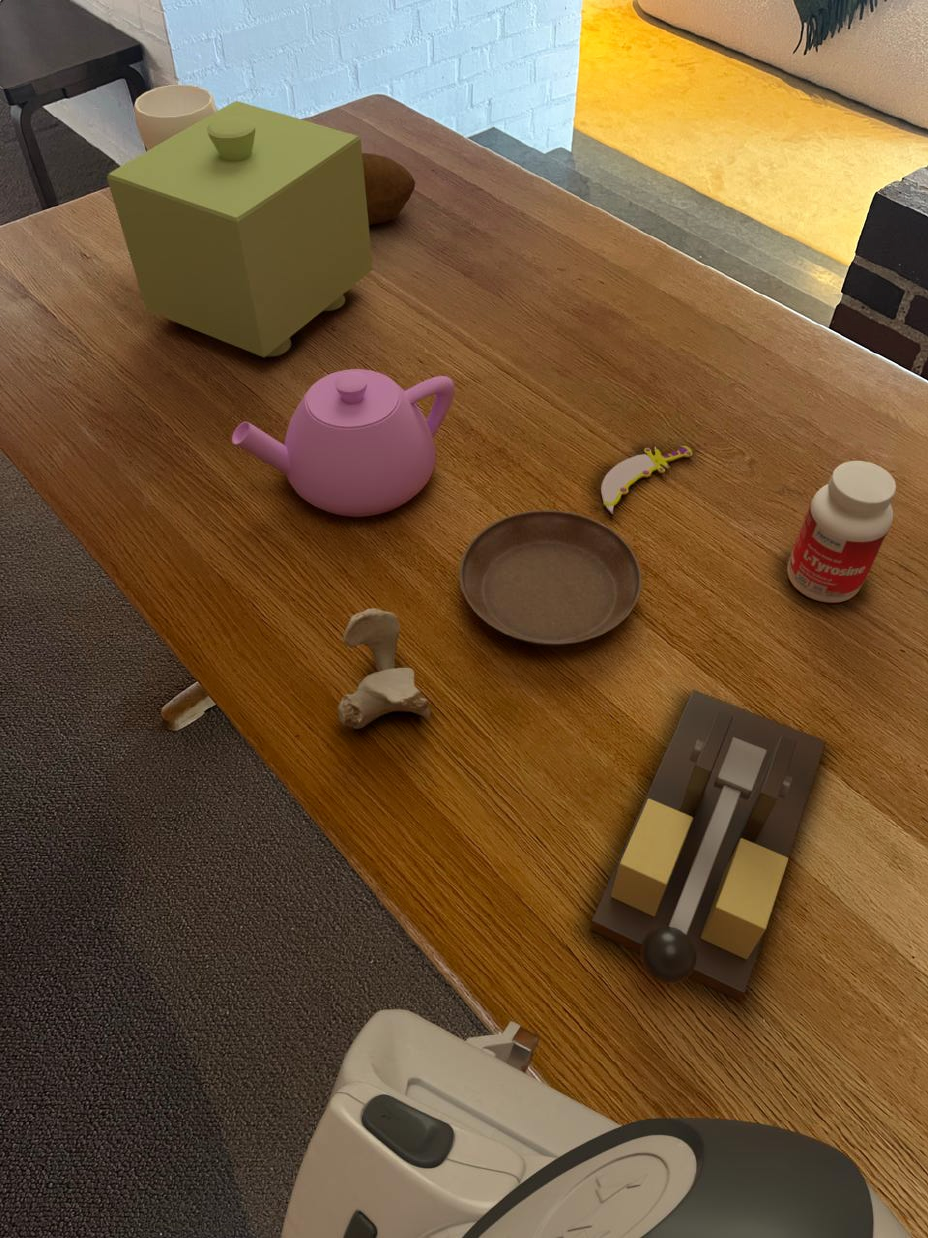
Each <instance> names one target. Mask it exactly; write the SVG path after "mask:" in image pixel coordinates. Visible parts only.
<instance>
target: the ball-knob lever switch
mask: <svg viewBox="0 0 928 1238" xmlns="http://www.w3.org/2000/svg"><path fill="white" fill-rule="evenodd" d="M766 754H767V750H765V749H763V748H760V747H758V746H755V745H753V744H750V743H747V742H745V741H742V740H740V739H737V738H735V737H733V738H732V739H731V742H730V745H729V747H728V750H727V752H726V755H725V757H724V760H723V762H722V765H721V767H720V770H719V773H718V775H717V778H716V780H715V783H714V786H715V787H717V788H720V789H722V790H721V793H720V796H719V798H718V801H717V803H716V806H715V808H714V811H713V814H712V816H711V819H710V821H709V824H708V826H707V829H706V832H705V834H704V837H703V839H702V842H701V844H700V847H699V850H698V852H697V855H696V857H695V860H694V862H693V865H692V867H691V870H690V873H689V875H688V878H687V880H686V883H685V885H684V888H683V891H682V893H681V896H680V898H679V901H678V903H677V906H676V909H675V911H674V914H673V916H672V919H671V921H670V924H669V926H661V927H657V928H655V929H653V930H652V931H650V932H649V933H648V934H647V935H646V936H645V938H644V940H643V942H642V945H641V949H640V953H639V956H640V961H641V964H642V966H643V969H644V970H645V972H646V973H647V974H648V976H650V977H651V978H652V979H653V980H655V981H657V982H658V983H661V984H666V985H676V984H679V983H682V982H684V981H685V980H687V979H688V978H690V977H689V976H690V975H691V973H692V972H693V970H694V968H695V965H696V957H697V956H696V949H695V946H694V944H693V942H692V940H691V939H690V937H689V936H688V935H687V933H688V930H689V928H690V925H691V922H692V920H693V917H694V915H695V912H696V909H697V907H698V904H699V902H700V899H701V896H702V894H703V891H704V889H705V886H706V883H707V881H708V878H709V875H710V873H711V870H712V868H713V865H714V862H715V860H716V857H717V855H718V852H719V849H720V847H721V844H722V841H723V839H724V836H725V834H726V831H727V828H728V826H729V823H730V821H731V818H732V815H733V813H734V810H735V808H736V805H737V802H738V800H739V797H741V798H744V799H748V798H749V796H750V795H751V793H752V791H753V788H754V786H755V783H756V781H757V778H758V775H759V773H760V770H761V767H762V765H763V762H764V759H765V757H766Z"/></svg>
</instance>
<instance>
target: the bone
mask: <svg viewBox="0 0 928 1238" xmlns="http://www.w3.org/2000/svg"><path fill="white" fill-rule="evenodd" d="M401 631H402V629H401V626H400V622H399V620H398V616H397V615H396V614H395V613H393V612H390V611H384V610H382V609H380V608H368V609H365V610H364V611H360V612H357V613H355V614H353V615H352V616H351V617H350V619H349V621H348V624H347V626H346V628H345V629H344V633H343V635H342V640H343V641H342V642H344V644H345V646H346V645H347V647H348V648H351V649H353V648H355V647H358V646H359V645H365V646H367V647H368V649H369V650H370V651H371V654H372V656H373V661H374V664H375V669H376V672H373V673H371V674H369V675H366V676H365V677H364V678H362V680H361V681H360V682H359V684H358V685H357V688H356V690H355V692H353V693H348V694H345V695H344V696H342V699H341V700H340V702H339V704H338V705H337V712H338V719H339V721H340V723H341V724H342V725H343V726H345V727H350V728H353V729H356V730H360V729H363V728H364V727H366V726H367V725H369V724H370V723H372V722H373V721H375V720H377V719H378V718H379V717H381V716H384V715H386V714H389V713H391V712H411V713H414V714H416V715H418V716H422V717H424V718H426V719H430V718H431V717H430V716H431V711H430V709H429V708H428V706H429V701H428V699H427V698H423V697H422V693H421V691H420V690H419V689H418V688H417V687H416V686H415V685H416V684H415V671H414V670H413V669H412V668H410V667H396V654H397V650H398V641H399V637H400V633H401Z"/></svg>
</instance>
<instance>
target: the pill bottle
mask: <svg viewBox="0 0 928 1238" xmlns="http://www.w3.org/2000/svg"><path fill="white" fill-rule="evenodd" d="M896 490H897V483H896V481H895V479H894V477H893V475H892V474H891V473H890V472H888V471H887V470H886V469H885V468H884V467H881V466H880V465H877V464H875V463H872V462H870V461H864V460H850V461H845V462H842V463H841V464H839V465H838V466H836V467H835V469H834V470H833V472H832V474H831V476H830V478H829V480H828V483H827V484H825V485H824V486H821V488H819V489H818V490H817V491H816V493H815V494H814V495H813V497H812V500H811V501H810V504H809V507H808V508H807V509H808V510H807V512H806V515H805V517H804V520H803V523H802V525H801V527H800V530H799V533H798V536H797V538H796V540H795V544H794V546H793V548H792V551H791V554H790V556H789V558H788V561H787V568H786V570H787V576H788V580H789V581H790V583H791V584H792V586H793V587H794V588H795V589H796V590H797V591H798V592H800V593H801V594H803V596H805V597H807V598H810V599H812V600H815V601H818V602H822V603H831V604H833V603H834V604H836V603H843V602H845V601H848V600H850V599H852V598H853V597H855V596H856V595H857V594H858V593H859V591H860V590H861V588H862V586H863V585H864V582H865V581H866V579H867V577H868V575H869V572H870V571H871V569H872V566H873V564H874V562H875V560H876V558H877V556H878V554H879V552H880V550H881V547H882V546H883V544H884V542H885V539H886V537H887V535H888V533H889V531H890V530H891V528H892V525H893V521H894V511H893V506H892V504H891V503H892V501H893V499H894V496H895V494H896Z"/></svg>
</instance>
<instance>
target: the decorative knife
mask: <svg viewBox="0 0 928 1238" xmlns="http://www.w3.org/2000/svg"><path fill="white" fill-rule="evenodd" d="M653 451H654V454H653V453H652V449H651V448H649V447H645V448H644V449H643V453H641V454H636V455H634V456H632V457H629V458H626V459H624V460H623V461H620V462H619V463H617V464H615V465H614V466H613V467H612V468H611V469H610V470H609V471H608V472H607V473H606V475H605V476H604V478H603V480H602V482H601V485H600V492H601V497H602V502H603V503H602V506H604V507H606V509H607V510H608V512H609V513H610V514H612V515H613V514H614V508H615V506H617V504H618V503H619V502H620V500H621V498H622V496H625V495H627V494H629V489H630V487H631V486H632V485H634V484H635V483H636V482H637V481H638V480H640V479H642V478H648V477H651V476H652V473H654V472H656V471H657V472H658V474H664V473H666V469H667V470H669V469H671V466H669V463H670V462H673V461H675V460H678V459H682V458H691V457H693V451H692V449H691V447H689V446H687V445H680V448H679V449H677V450H675V451H672V452H670V453H667V454H664V455H663V454H662V453H661V451H660V449H659V448H657V447H656V446H654V450H653ZM668 462H669V463H668Z"/></svg>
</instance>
